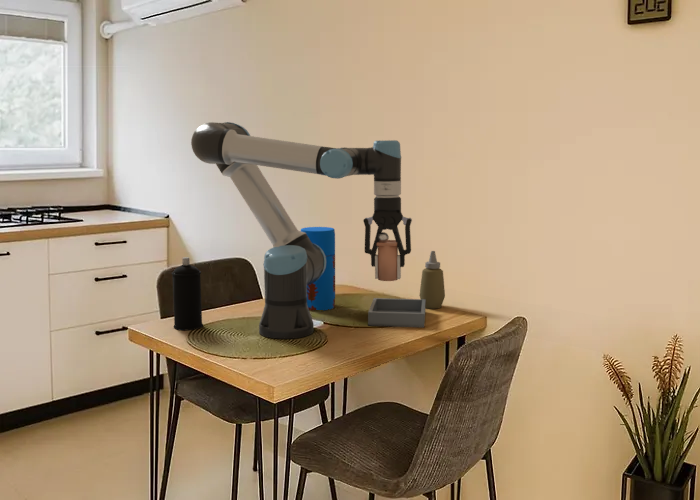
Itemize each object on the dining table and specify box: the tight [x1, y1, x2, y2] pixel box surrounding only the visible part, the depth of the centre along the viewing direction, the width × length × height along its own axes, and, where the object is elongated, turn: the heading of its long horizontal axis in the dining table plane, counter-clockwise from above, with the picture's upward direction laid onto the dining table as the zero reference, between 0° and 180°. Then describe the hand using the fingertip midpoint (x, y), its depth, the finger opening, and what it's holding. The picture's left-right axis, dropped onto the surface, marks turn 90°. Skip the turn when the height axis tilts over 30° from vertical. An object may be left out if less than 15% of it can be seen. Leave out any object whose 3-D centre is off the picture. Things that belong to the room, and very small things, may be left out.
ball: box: [378, 231, 390, 243], centre depth 202 cm, size 3×3×3 cm
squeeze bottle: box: [419, 250, 446, 310], centre depth 228 cm, size 8×8×18 cm
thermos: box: [300, 226, 336, 311], centre depth 228 cm, size 11×11×25 cm
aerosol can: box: [170, 256, 204, 331], centre depth 205 cm, size 8×8×20 cm
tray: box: [367, 297, 426, 328], centre depth 215 cm, size 16×18×4 cm
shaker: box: [377, 239, 399, 282], centre depth 203 cm, size 6×6×11 cm
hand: (388, 277), depth 204 cm, fingers closed on shaker, 6 cm apart
